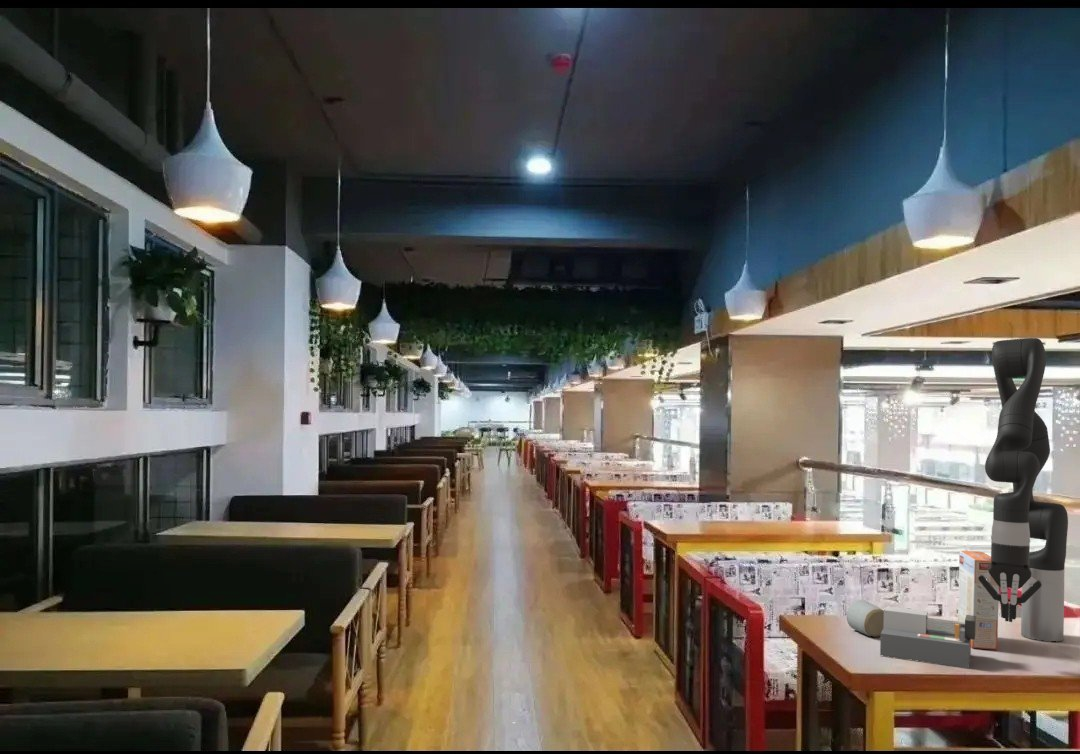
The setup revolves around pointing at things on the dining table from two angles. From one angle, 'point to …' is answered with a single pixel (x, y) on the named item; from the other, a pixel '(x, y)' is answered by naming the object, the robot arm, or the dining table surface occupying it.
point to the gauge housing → (921, 639)
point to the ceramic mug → (865, 618)
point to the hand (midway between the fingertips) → (1008, 620)
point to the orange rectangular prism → (957, 631)
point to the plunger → (965, 628)
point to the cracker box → (978, 599)
